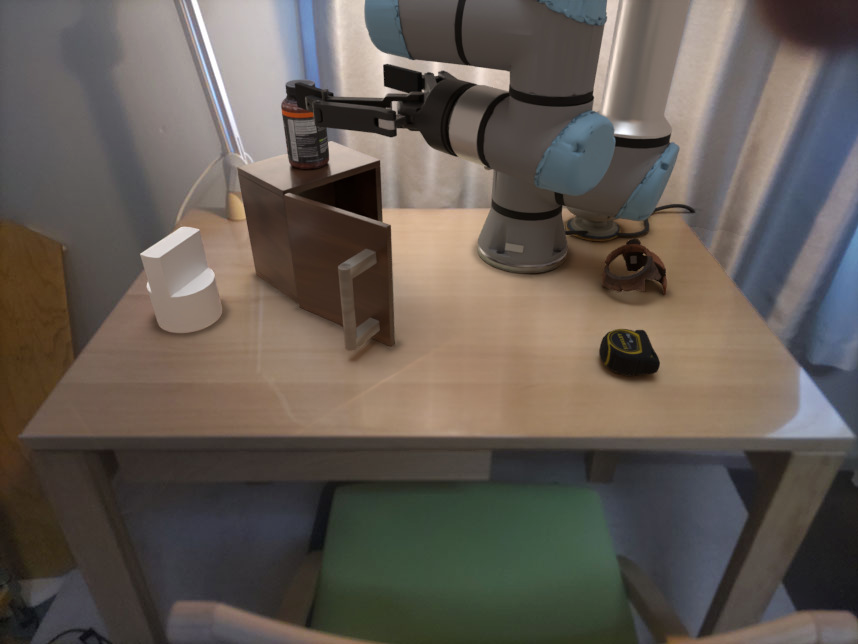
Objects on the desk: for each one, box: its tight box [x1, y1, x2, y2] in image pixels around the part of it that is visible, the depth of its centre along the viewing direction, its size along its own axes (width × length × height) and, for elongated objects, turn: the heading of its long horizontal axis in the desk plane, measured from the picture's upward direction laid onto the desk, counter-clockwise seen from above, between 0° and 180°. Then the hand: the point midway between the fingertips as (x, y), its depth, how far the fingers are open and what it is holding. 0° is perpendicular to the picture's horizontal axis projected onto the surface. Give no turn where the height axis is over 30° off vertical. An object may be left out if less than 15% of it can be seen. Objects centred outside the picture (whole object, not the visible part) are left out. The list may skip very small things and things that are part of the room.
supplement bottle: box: [280, 79, 329, 169], centre depth 85 cm, size 6×6×11 cm
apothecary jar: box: [565, 206, 621, 242], centre depth 106 cm, size 12×12×18 cm
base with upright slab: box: [139, 226, 224, 334], centre depth 84 cm, size 9×9×12 cm
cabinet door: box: [284, 193, 396, 352], centre depth 79 cm, size 7×17×18 cm, turn 56°
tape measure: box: [598, 328, 661, 377], centre depth 78 cm, size 7×7×4 cm
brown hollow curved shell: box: [601, 237, 668, 296], centre depth 94 cm, size 12×10×8 cm
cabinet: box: [236, 140, 384, 305], centre depth 93 cm, size 12×17×18 cm
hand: (344, 84), depth 75 cm, fingers open, 13 cm apart
